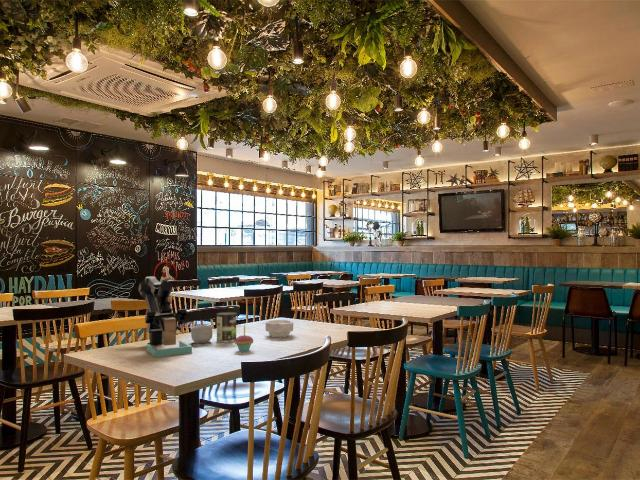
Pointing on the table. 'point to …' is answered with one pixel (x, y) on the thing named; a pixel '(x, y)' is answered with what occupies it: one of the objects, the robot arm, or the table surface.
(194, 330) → the teacup
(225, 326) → the coffee can
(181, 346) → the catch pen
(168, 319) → the handle block
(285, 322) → the paper bowls
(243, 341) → the cupcake
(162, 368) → the table surface
